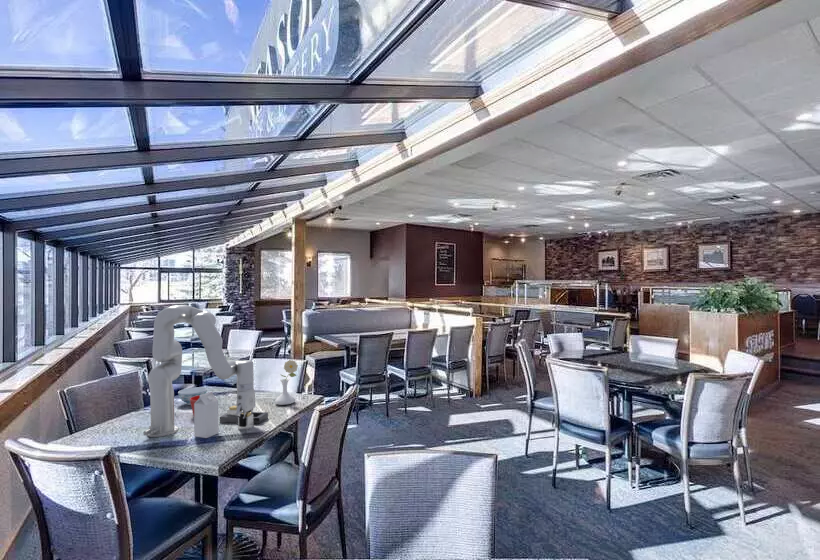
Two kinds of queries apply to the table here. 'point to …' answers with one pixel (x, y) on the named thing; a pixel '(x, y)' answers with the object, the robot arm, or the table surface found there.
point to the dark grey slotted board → (257, 418)
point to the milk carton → (206, 416)
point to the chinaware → (191, 393)
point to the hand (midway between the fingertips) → (245, 424)
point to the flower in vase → (285, 396)
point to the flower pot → (194, 402)
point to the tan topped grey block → (232, 411)
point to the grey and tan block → (247, 421)
